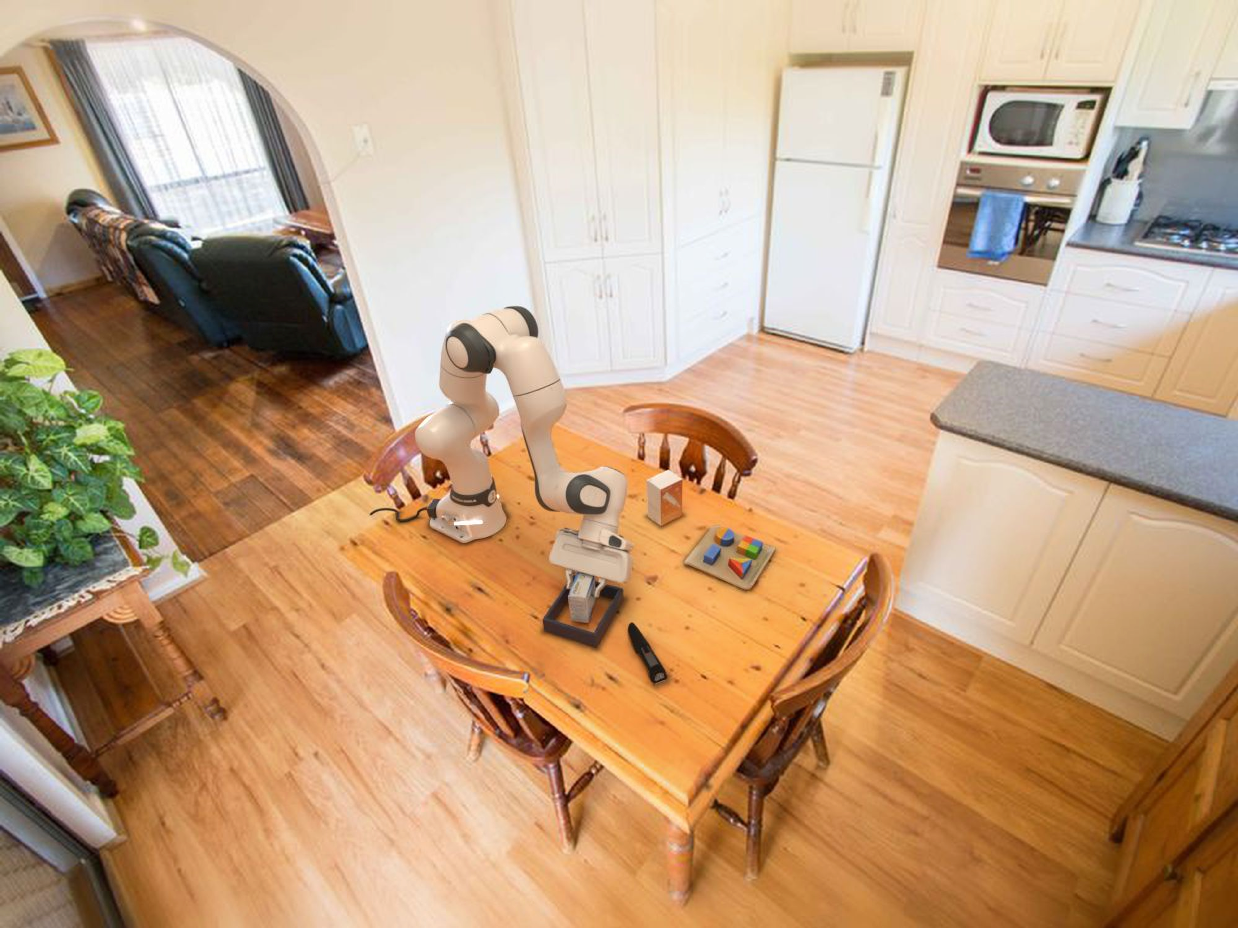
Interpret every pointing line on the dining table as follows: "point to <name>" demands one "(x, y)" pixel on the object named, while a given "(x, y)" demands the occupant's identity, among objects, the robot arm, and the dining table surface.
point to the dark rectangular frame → (578, 633)
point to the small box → (664, 497)
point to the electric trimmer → (647, 655)
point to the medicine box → (582, 597)
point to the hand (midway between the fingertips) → (582, 593)
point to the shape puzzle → (730, 556)
